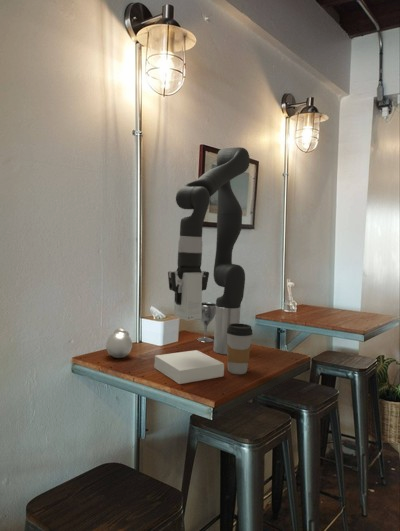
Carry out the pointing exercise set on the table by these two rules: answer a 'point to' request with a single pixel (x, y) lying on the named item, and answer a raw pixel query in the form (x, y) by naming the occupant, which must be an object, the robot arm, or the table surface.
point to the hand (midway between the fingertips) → (187, 303)
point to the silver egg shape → (119, 343)
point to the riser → (189, 366)
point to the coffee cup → (238, 347)
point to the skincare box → (190, 297)
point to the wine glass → (207, 318)
